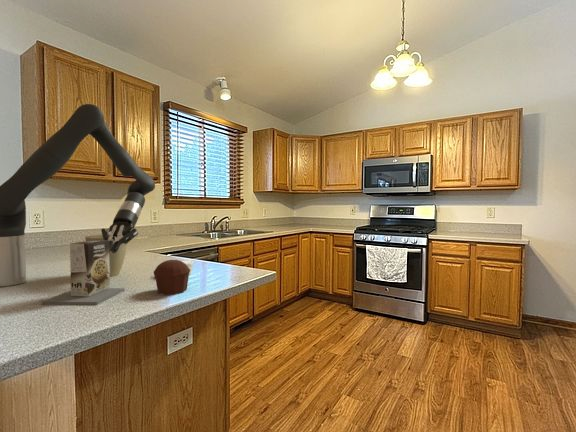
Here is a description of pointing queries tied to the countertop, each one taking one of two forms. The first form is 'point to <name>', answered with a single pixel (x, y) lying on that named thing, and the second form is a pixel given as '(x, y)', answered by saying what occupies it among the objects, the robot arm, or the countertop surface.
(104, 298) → the mat
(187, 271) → the muffin
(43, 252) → the countertop surface
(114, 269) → the plant pot
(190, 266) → the ramekin
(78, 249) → the coffee box
